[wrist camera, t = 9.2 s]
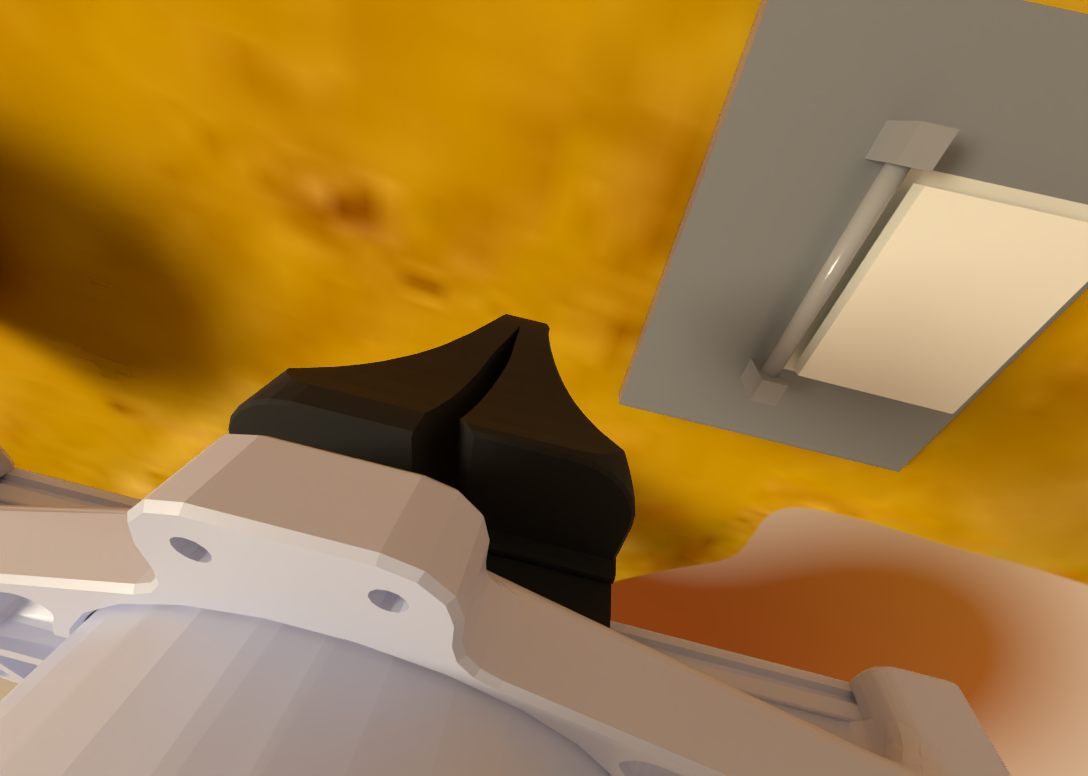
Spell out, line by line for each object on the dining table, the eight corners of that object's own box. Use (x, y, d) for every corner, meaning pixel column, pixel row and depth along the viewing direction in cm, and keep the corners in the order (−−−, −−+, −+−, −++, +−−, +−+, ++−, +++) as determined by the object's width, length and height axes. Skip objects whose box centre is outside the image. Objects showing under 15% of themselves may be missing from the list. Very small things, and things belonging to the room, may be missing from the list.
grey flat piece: (888, 459, 23) (920, 500, 21) (618, 393, 23) (618, 426, 21) (1273, 66, 13) (1429, 54, 10) (776, -39, 13) (811, -75, 11)
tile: (798, 375, 18) (792, 366, 19) (952, 414, 18) (941, 403, 19) (925, 185, 14) (912, 182, 14) (1136, 233, 13) (1113, 227, 14)
